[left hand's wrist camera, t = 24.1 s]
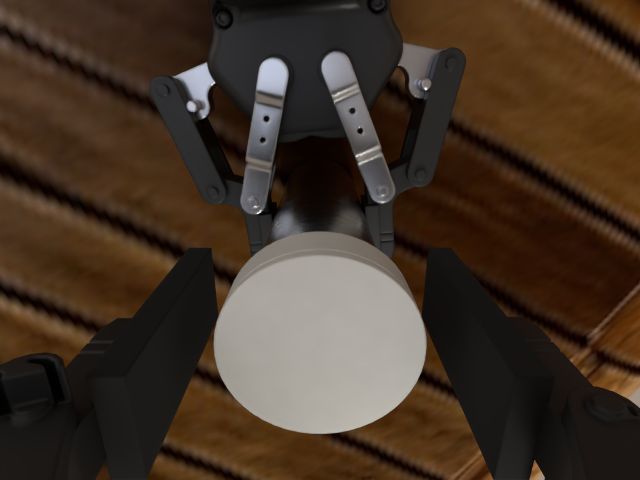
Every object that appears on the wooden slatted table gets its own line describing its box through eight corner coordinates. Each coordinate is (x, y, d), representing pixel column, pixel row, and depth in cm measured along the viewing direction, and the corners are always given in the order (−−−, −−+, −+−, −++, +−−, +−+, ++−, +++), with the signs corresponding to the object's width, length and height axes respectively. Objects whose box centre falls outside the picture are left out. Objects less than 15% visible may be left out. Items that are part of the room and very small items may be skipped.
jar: (334, 236, 27) (351, 418, 12) (274, 207, 27) (214, 362, 12) (367, 177, 26) (431, 302, 11) (304, 145, 25) (282, 231, 10)
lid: (369, 410, 13) (376, 455, 12) (207, 362, 13) (190, 403, 11) (444, 267, 11) (464, 297, 10) (258, 203, 11) (248, 223, 9)
